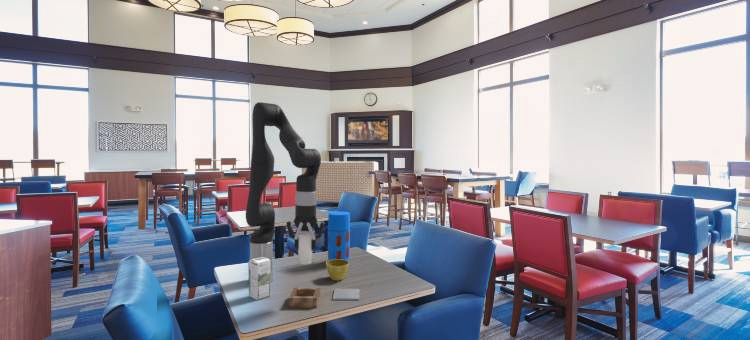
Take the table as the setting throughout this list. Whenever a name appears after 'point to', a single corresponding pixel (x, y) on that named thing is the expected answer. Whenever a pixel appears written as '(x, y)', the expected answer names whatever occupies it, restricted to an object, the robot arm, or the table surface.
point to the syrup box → (259, 278)
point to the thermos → (339, 236)
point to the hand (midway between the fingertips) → (305, 249)
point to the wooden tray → (304, 298)
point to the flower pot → (337, 268)
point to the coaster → (346, 294)
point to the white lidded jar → (305, 247)
